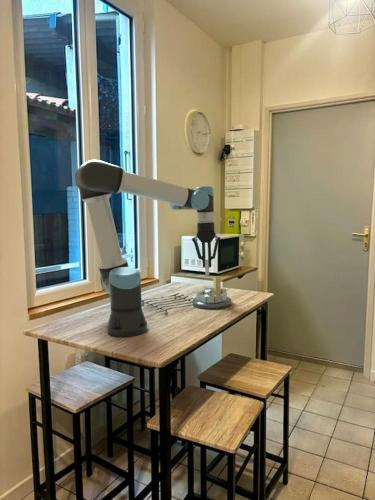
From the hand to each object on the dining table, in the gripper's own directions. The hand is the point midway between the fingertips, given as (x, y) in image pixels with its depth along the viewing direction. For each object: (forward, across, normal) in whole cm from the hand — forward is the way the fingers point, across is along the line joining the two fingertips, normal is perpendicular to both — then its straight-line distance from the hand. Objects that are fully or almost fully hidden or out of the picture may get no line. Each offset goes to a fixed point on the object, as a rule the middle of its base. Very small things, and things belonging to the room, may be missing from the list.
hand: (207, 274), depth 173 cm
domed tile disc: (+13, +1, +5) cm, 14 cm away
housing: (+15, +1, +5) cm, 16 cm away
